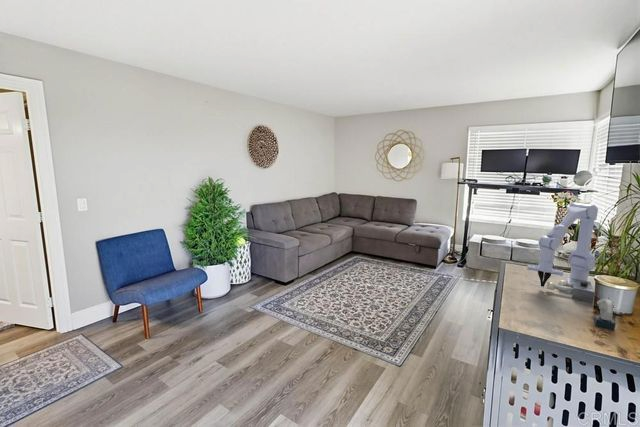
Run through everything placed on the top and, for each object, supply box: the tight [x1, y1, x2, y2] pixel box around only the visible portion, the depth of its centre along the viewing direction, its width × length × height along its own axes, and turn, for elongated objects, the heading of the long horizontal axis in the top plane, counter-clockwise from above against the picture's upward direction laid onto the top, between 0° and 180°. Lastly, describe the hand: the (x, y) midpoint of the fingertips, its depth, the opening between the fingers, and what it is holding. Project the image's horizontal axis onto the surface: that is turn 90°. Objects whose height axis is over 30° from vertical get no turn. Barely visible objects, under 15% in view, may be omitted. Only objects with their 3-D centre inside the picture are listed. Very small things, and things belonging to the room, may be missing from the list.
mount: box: [569, 278, 596, 304], centre depth 151 cm, size 15×8×7 cm, turn 146°
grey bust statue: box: [593, 298, 616, 332], centre depth 123 cm, size 6×8×11 cm
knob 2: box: [557, 279, 572, 287], centre depth 156 cm, size 12×4×4 cm, turn 56°
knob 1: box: [545, 281, 573, 293], centre depth 153 cm, size 12×4×4 cm, turn 56°
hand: (542, 286), depth 157 cm, fingers closed
